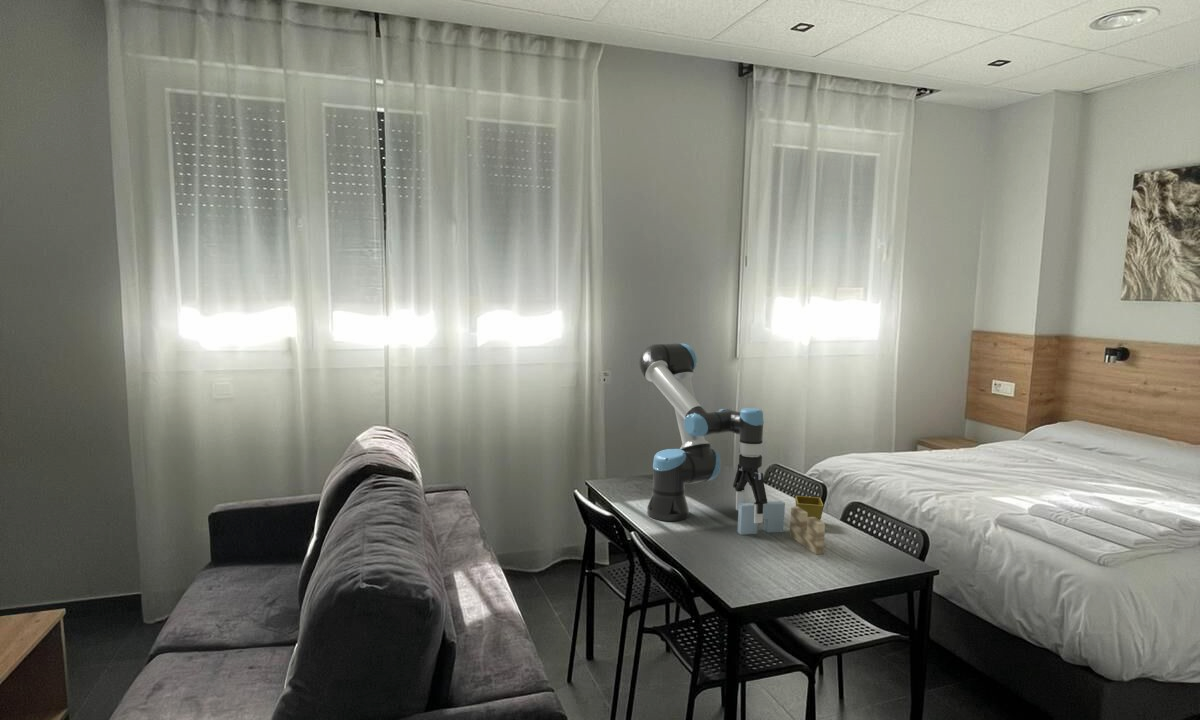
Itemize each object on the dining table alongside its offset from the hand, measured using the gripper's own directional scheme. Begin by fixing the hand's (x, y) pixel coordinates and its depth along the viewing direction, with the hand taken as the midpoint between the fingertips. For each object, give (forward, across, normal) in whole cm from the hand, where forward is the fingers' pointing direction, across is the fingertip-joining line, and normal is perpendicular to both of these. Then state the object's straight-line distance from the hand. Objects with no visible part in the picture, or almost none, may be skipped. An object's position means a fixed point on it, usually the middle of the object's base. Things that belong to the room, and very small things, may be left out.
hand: (748, 516), depth 221 cm
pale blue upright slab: (+6, 0, -5) cm, 8 cm away
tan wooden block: (+6, -13, -14) cm, 20 cm away
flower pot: (+6, +3, -25) cm, 26 cm away
